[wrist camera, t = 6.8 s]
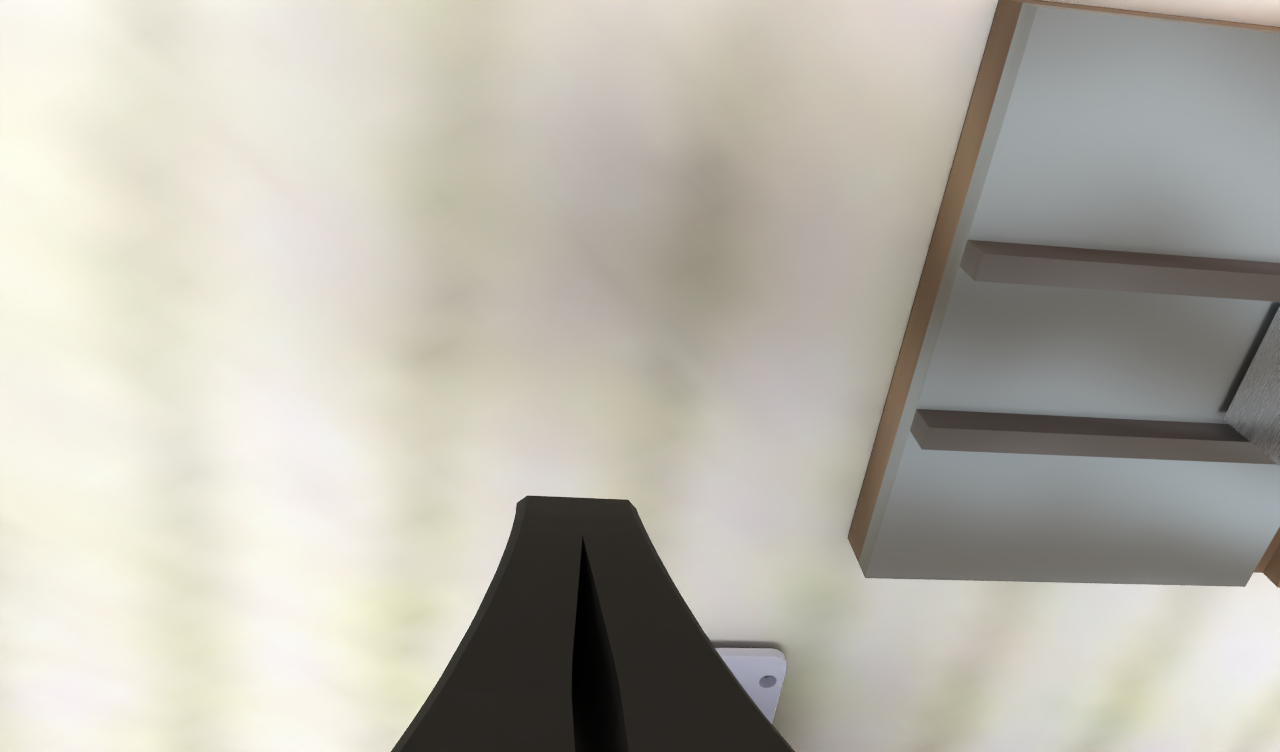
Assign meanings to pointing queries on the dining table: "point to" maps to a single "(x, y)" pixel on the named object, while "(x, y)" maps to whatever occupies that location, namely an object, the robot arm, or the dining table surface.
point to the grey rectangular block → (1261, 397)
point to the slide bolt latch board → (1091, 315)
